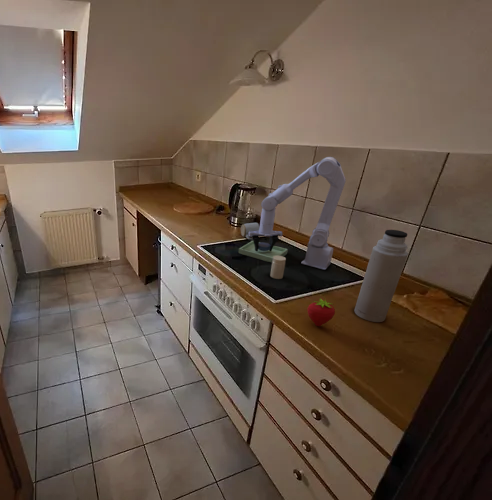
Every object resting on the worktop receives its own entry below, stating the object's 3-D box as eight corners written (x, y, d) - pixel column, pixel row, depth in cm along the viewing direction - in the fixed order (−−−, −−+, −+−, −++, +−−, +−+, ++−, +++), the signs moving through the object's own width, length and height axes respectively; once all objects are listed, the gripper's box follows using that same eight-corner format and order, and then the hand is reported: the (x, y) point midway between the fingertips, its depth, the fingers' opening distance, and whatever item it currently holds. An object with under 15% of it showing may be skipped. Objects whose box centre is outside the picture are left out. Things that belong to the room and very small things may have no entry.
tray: (287, 253, 139) (288, 249, 138) (274, 263, 130) (275, 258, 129) (252, 244, 151) (252, 240, 150) (238, 253, 142) (238, 248, 141)
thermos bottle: (348, 307, 98) (371, 227, 87) (372, 306, 98) (398, 226, 87) (366, 322, 91) (393, 237, 80) (391, 321, 91) (422, 236, 80)
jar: (284, 275, 120) (287, 257, 117) (280, 280, 117) (284, 261, 113) (272, 272, 123) (275, 254, 120) (268, 276, 119) (271, 258, 116)
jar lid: (267, 246, 142) (268, 242, 141) (271, 250, 137) (272, 247, 136) (255, 245, 142) (255, 242, 142) (258, 250, 137) (259, 247, 136)
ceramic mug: (239, 234, 164) (240, 221, 161) (253, 233, 165) (255, 220, 162) (246, 241, 155) (248, 227, 152) (261, 241, 155) (263, 227, 152)
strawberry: (300, 320, 93) (305, 292, 89) (323, 319, 93) (330, 291, 89) (310, 332, 88) (317, 303, 84) (335, 331, 88) (343, 302, 84)
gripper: (252, 225, 131) (249, 253, 137) (286, 225, 130) (281, 253, 136) (248, 220, 138) (245, 247, 143) (281, 220, 137) (276, 247, 142)
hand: (262, 250), depth 140 cm, fingers closed on jar lid, 6 cm apart
